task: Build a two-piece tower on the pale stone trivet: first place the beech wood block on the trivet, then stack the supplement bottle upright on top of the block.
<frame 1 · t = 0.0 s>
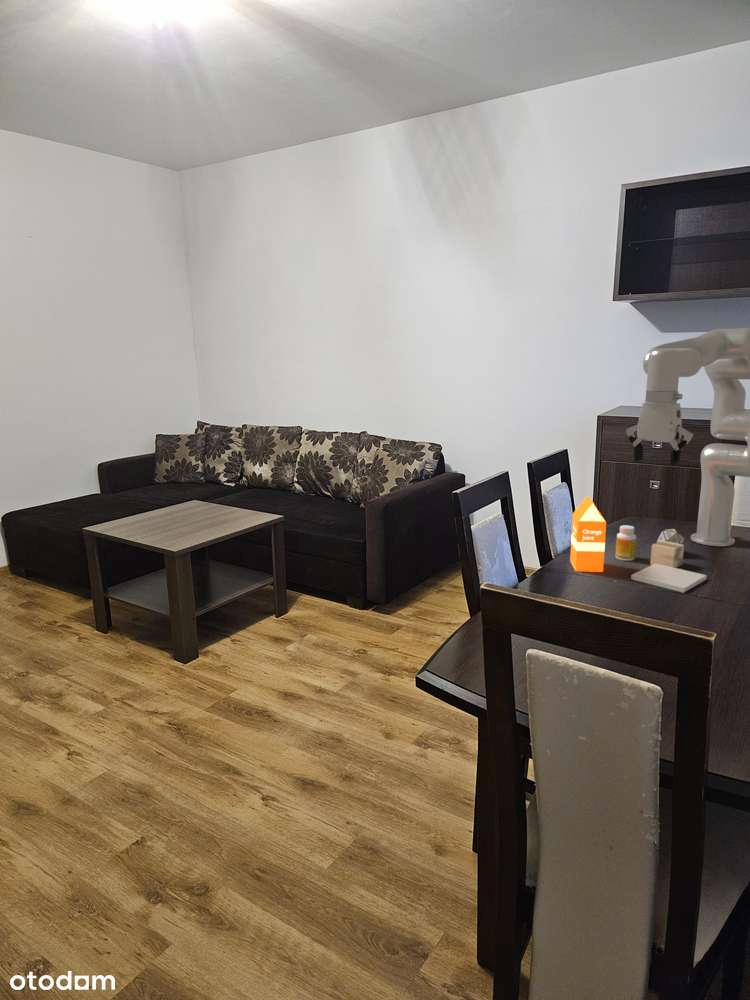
hand: (655, 462, 170), 31 cm above the table, fingers open, 9 cm apart
supplement bottle: (624, 558, 191), on the table
trivet: (668, 579, 172), on the table
beech block: (666, 564, 185), on the table
orange juice: (586, 567, 184), on the table
game die: (669, 553, 195), on the table
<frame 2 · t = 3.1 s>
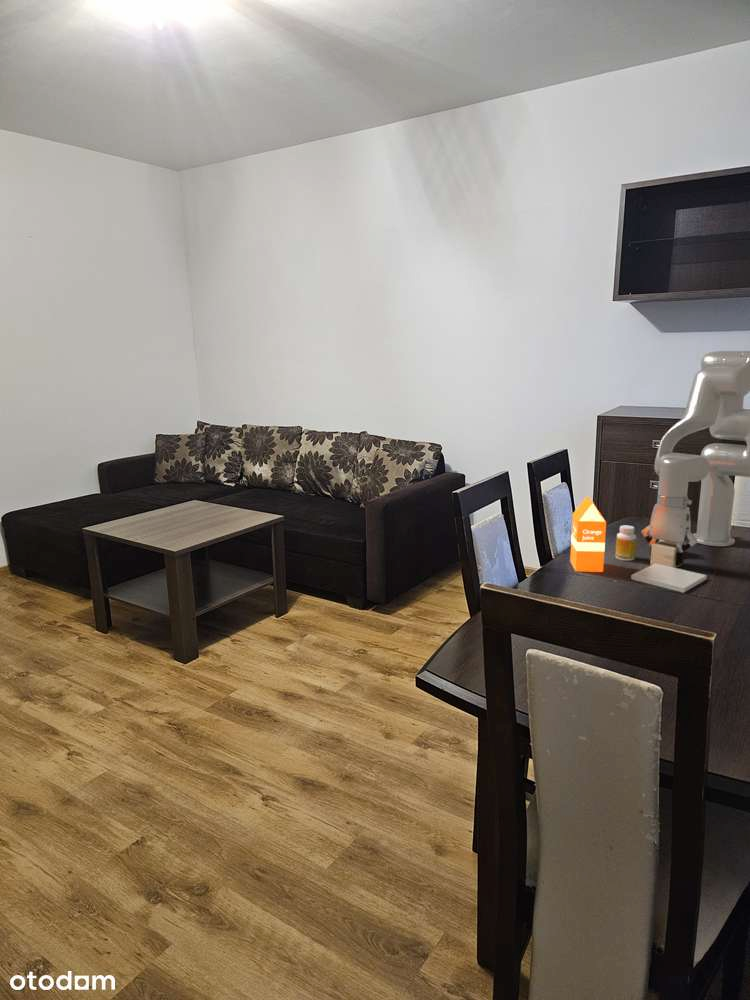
hand: (666, 561, 184), 1 cm above the table, fingers closed on beech block, 6 cm apart
beech block: (666, 564, 185), on the table, touching gripper
everything else where it was.
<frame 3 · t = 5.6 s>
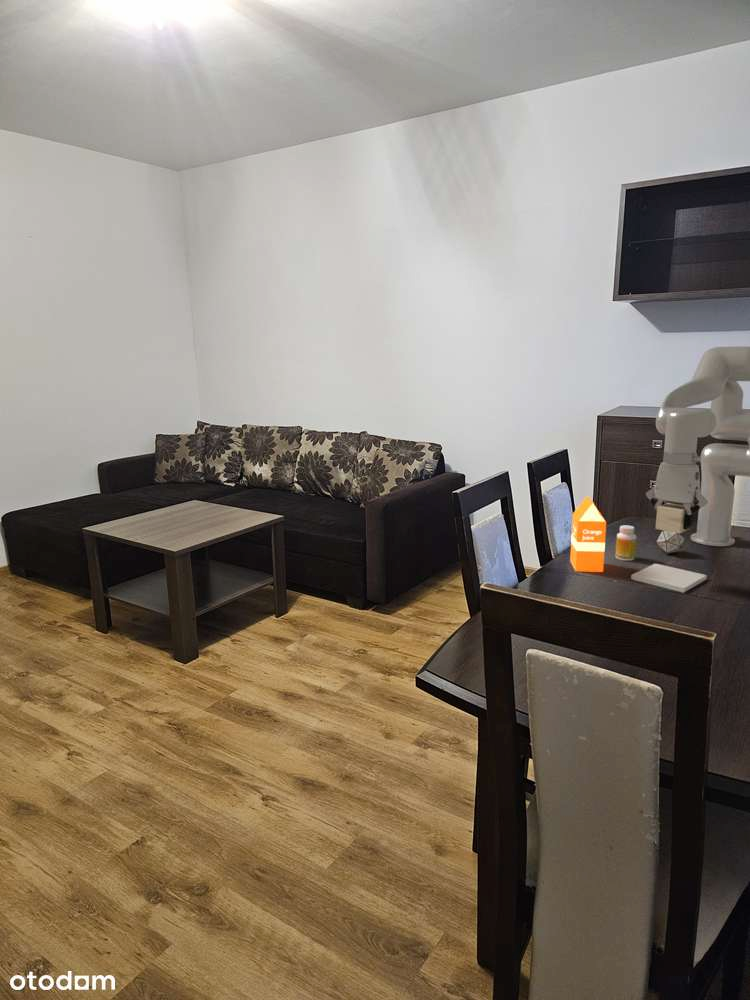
hand: (673, 525, 169), 15 cm above the table, fingers closed on beech block, 6 cm apart
beech block: (672, 528, 169), point 14 cm above the table, touching gripper
everything else where it was.
when the fingers open (3 cm above the table, at t = 8.2 s): beech block stays where it is, resting on trivet.
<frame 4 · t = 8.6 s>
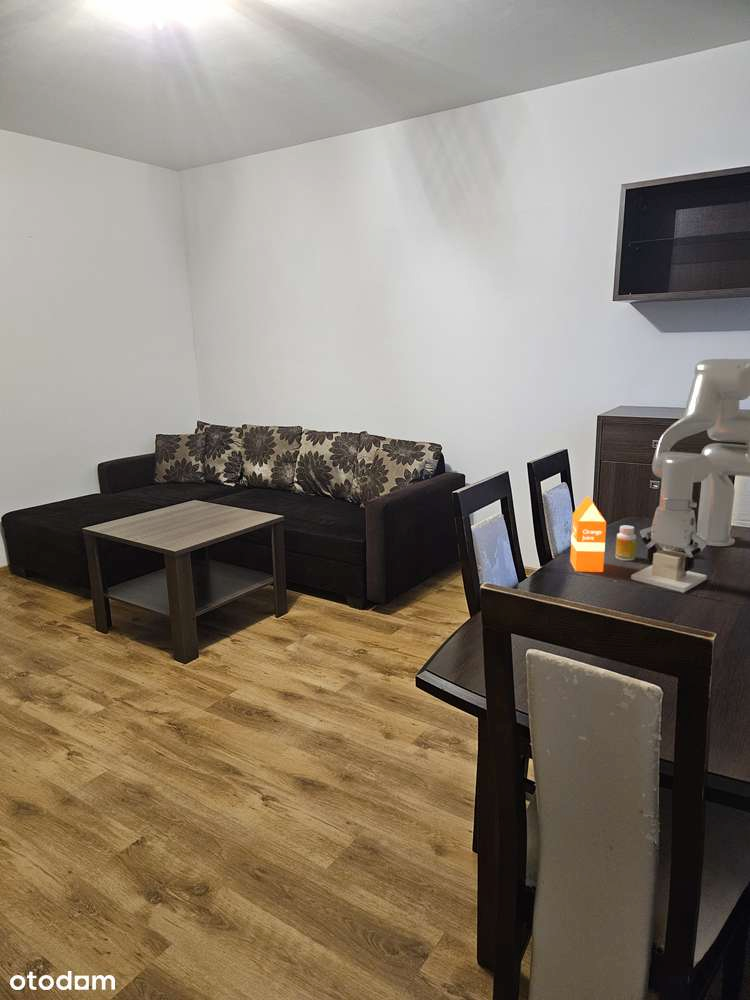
hand: (669, 565, 172), 4 cm above the table, fingers open, 9 cm apart
beech block: (668, 575, 172), point 1 cm above the table, touching trivet
everything else where it was.
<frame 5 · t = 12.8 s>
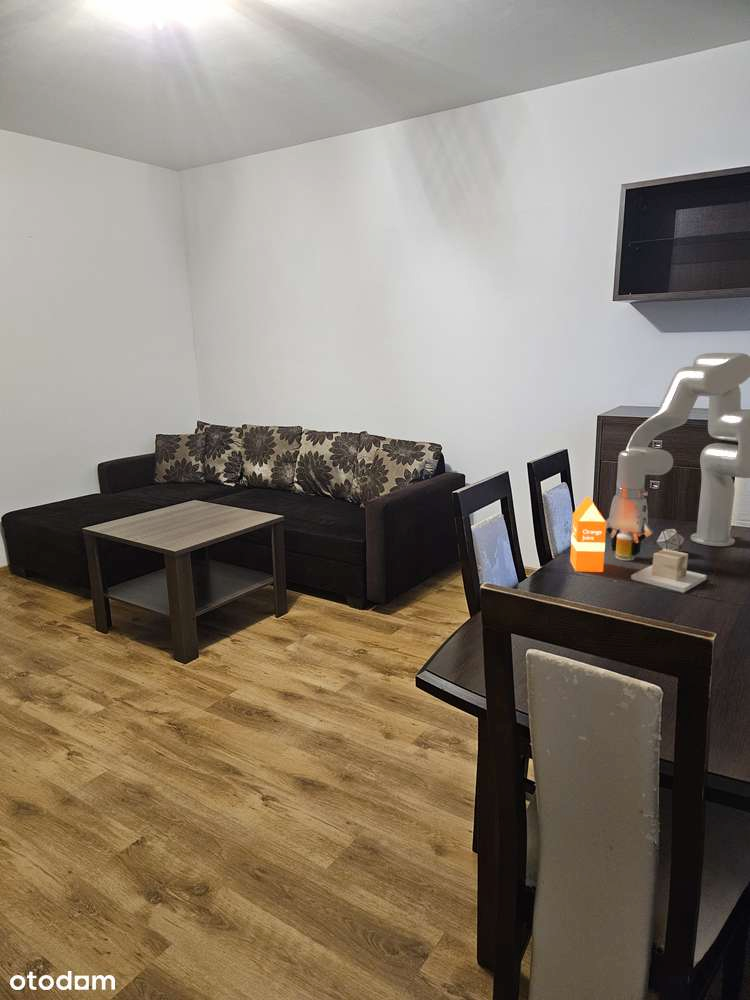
hand: (625, 551, 190), 2 cm above the table, fingers closed on supplement bottle, 5 cm apart
supplement bottle: (624, 558, 191), on the table, touching gripper
everything else where it was.
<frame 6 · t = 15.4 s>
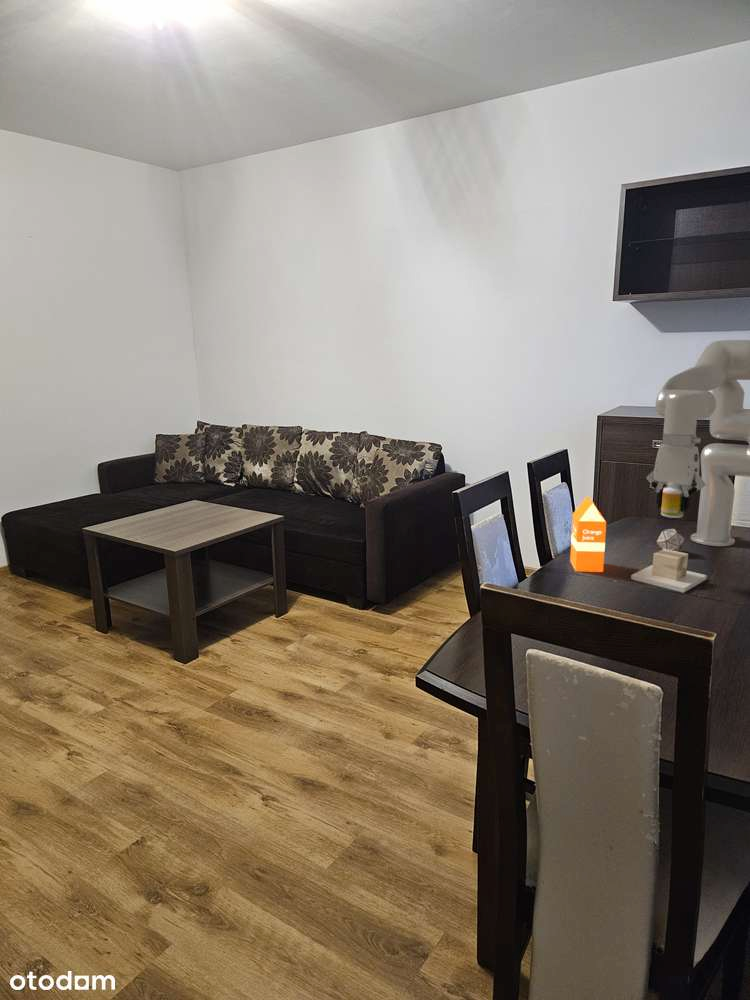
hand: (672, 508, 169), 20 cm above the table, fingers closed on supplement bottle, 5 cm apart
supplement bottle: (671, 516, 169), point 17 cm above the table, touching gripper
everything else where it was.
when the fingers open (10 cm above the table, at t = 18.0 s): supplement bottle drops 1 cm, resting on beech block.
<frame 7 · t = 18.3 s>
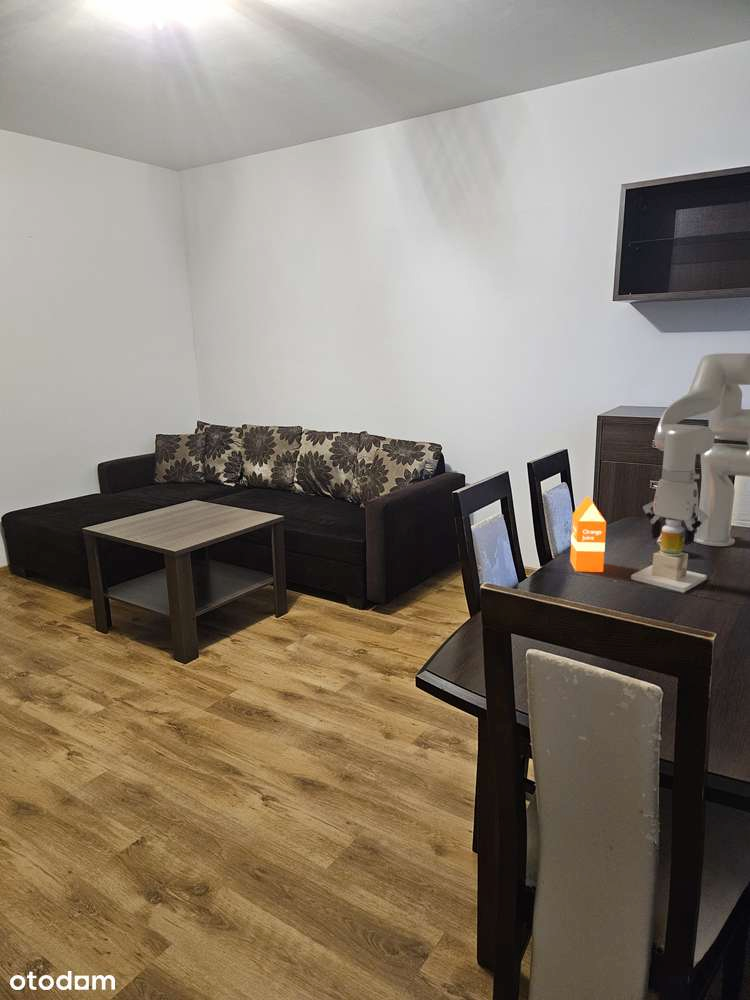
hand: (671, 540, 170), 11 cm above the table, fingers open, 8 cm apart
supplement bottle: (670, 554, 171), point 7 cm above the table, touching beech block
beech block: (668, 575, 172), point 1 cm above the table, touching supplement bottle, trivet
everything else where it was.
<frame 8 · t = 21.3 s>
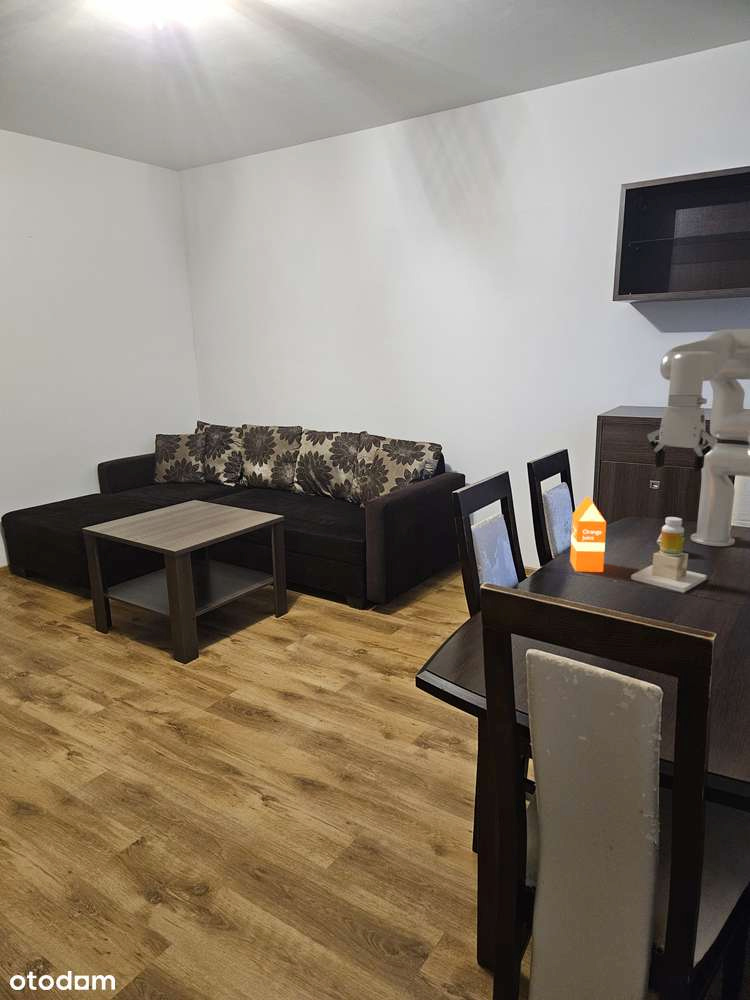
hand: (678, 468, 166), 30 cm above the table, fingers open, 9 cm apart
nothing on the table moved.
at the end: beech block inside the target area on the trivet (0.0 cm from its centre), point 1.2 cm above the trivet's base; supplement bottle 0.1 cm from the beech block (horizontally); supplement bottle point 7.0 cm above the table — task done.
